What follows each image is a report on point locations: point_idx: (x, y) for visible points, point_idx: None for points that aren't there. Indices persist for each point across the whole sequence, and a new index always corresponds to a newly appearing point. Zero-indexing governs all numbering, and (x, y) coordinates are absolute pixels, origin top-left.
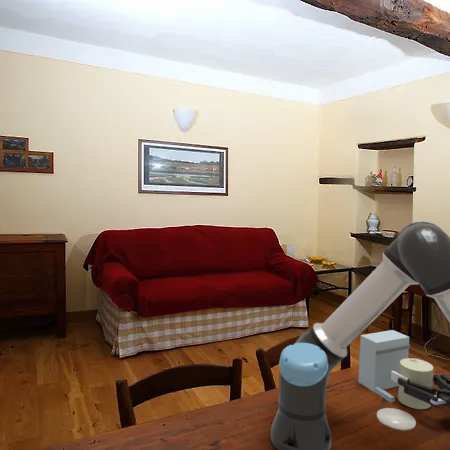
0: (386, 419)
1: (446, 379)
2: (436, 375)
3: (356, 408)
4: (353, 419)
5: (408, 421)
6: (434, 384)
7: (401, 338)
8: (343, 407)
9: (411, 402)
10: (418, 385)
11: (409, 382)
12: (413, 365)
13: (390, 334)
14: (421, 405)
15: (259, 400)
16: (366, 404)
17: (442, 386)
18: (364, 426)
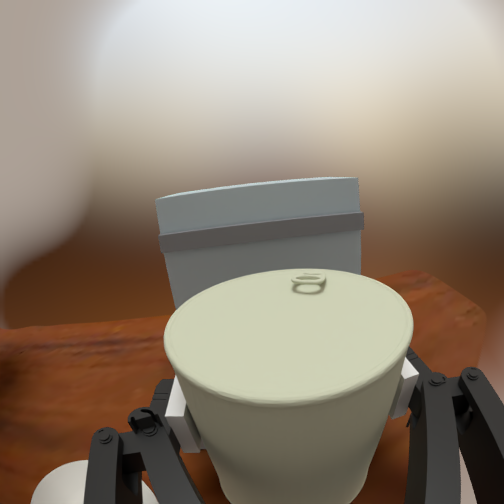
0: (53, 496)
1: (480, 416)
2: (433, 383)
3: (66, 420)
4: (15, 438)
5: None
6: (409, 423)
7: (311, 180)
8: (50, 402)
9: (227, 493)
10: (161, 484)
11: (144, 433)
12: (254, 317)
13: (291, 180)
14: None
15: (5, 334)
16: (106, 422)
17: (415, 496)
18: (2, 466)
